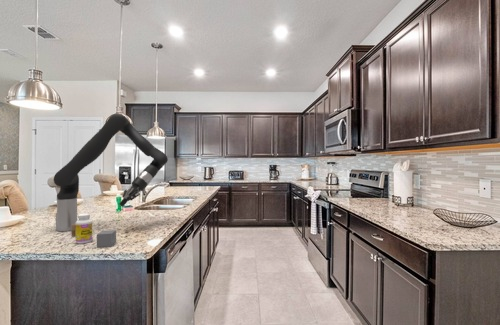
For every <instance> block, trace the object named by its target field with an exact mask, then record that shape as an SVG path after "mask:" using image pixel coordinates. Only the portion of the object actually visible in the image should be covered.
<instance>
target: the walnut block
mask: <svg viewBox="0 0 500 325" xmlns="http://www.w3.org/2000/svg"><path fill="white" fill-rule="evenodd" d="M74 237H75V238H76V223H75V224H73V225H72V230H71V238H74Z"/></svg>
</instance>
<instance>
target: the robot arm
mask: <svg viewBox="0 0 500 325" xmlns="http://www.w3.org/2000/svg"><path fill="white" fill-rule="evenodd" d="M119 132H121V133H122V134H124V135H125V136H127V138H129V140H130V141H131V142H132V143H133V144H134V146H136V147H137V149H139V150H140V151H141V152H142V153H143V154H144V155H145V156H147V157H151V158H152V161H151V162H150V163H149V164H148V165H147V166H145V168H144V169H143V170H142V171H141V172H140V173H139V174H138V175H137V176H136V177H135V178H134V179H133V181H132V182H131V186H130V187H129V188H128V189H124V191H123V195H122V196H121V197H122V198H123V199H122V200H121V201H120V202H119V203H118V205H119V206H121V207H124V206H125V205H126V204H127V203H128V202H129V201H131V202H132V201H133V200H134V199H136V198H137V197H139V196H140V195H141V193H140V192H142V191H144V190H145V189H146V188H147V187H148V186H149V184H150V183H151V182H152V180H153V179H154V178H155V177H156V175H157V174H158V172H159V171H160V170H161V169H162V168H163V167H164V166H165V165H166V164H167V163H168V160H169V159H168V156H167V155H166V154H165V152H163V151H162V150H160V149H158V148H156V147H155V146H154V145H153V144H152V143H151V142H150V141H149V140H148V139H147V138H146V137H145V136H143V135H142V133H140V131H138V130H137V129H136V128H135V127H134V126H133V124H132V122H130V120H129V118H128V117H127V116H125V115H123V114H122V113H114V114H111V116H110V117H109V118H108V119H107V121H105V123H104V125H103V126H102V127H101V128H100V129H99V130H98V131H97V132H96V133H95V134H94V135H93V136H92V137H91V138H90V139H89V140H88V141H87V142H85V144H84V145H83V146H82V147H81V149H80V150H78V152H77V153H76V154H75V155H74V156H73V157H72V158H71V160H70V161H69V162H68V163H66V164H65V165H64V166H63V167H62V168H60V169H59V170H58V171H57V172H56V173H55V175H54V176H53V182H54V185H56V186H57V187H59V188H60V190H59V192H58V193H57V194H56V213H55V231H57V232H68V231H72V225H73V224H75V223H76V221H78V195H79V194H78V193H79V189H80V177H79V173H80V172H81V171H82V170H83V169H85V168H86V167H88V166H89V165H91V164H92V163H93V162H95V161H96V160H97V159H99V157H100V156H101V155H102V154H103V152H104V151H105V150H106V149H107V147H108V145H109V143H110V141H111V140H112V139H113V137H115V135H117V134H118V133H119Z"/></svg>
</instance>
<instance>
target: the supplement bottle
mask: <svg viewBox="0 0 500 325" xmlns="http://www.w3.org/2000/svg"><path fill="white" fill-rule="evenodd" d="M90 217H91V214H90V213H81V214H77V221H76V237H75V243H76V244H82V245H83V244H87V243H91V242H92V241H93V220H92V219H91V218H90Z"/></svg>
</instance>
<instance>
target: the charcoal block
mask: <svg viewBox="0 0 500 325" xmlns="http://www.w3.org/2000/svg"><path fill="white" fill-rule="evenodd" d="M116 243H117V230H116V229H109V230H108V229H107V230H101V231H100V232H98V233H97V234H96V248H97V249H99V248H101V249H102V248H112V247H113V246H114V245H115V244H116Z"/></svg>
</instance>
